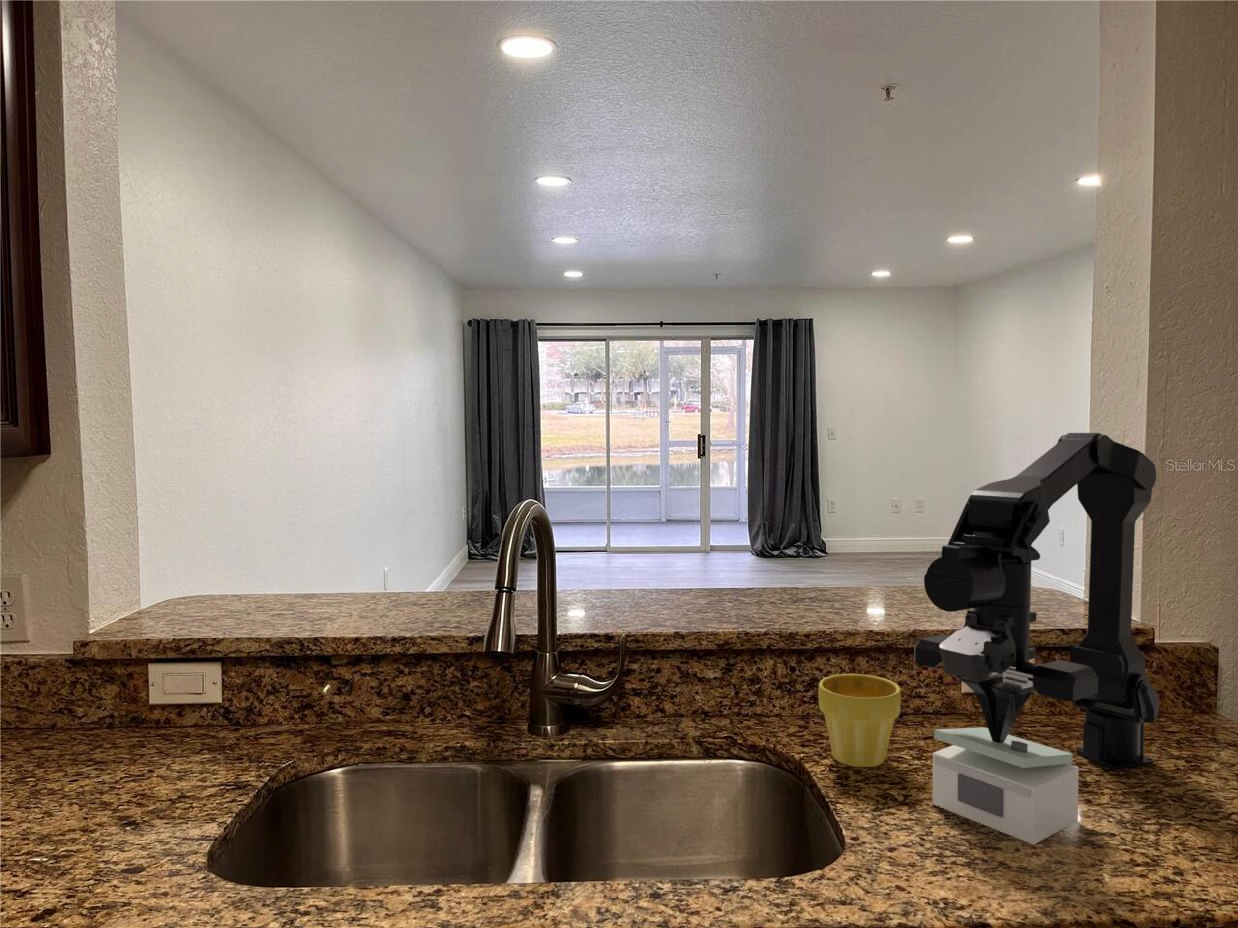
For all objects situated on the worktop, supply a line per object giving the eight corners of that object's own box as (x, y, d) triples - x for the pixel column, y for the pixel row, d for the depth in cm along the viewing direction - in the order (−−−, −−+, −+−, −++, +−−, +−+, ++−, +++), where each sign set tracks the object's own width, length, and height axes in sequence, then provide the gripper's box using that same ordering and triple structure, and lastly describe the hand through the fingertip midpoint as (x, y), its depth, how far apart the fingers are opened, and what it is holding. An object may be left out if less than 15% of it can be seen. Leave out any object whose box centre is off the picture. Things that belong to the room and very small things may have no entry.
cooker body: (977, 784, 105) (978, 735, 105) (1077, 820, 95) (1078, 766, 95) (930, 804, 99) (931, 753, 99) (1032, 845, 90) (1032, 788, 89)
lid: (983, 735, 104) (985, 720, 104) (1072, 763, 95) (1073, 746, 95) (933, 738, 98) (935, 722, 98) (1023, 767, 90) (1025, 750, 90)
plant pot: (905, 776, 107) (905, 699, 107) (819, 771, 109) (819, 695, 109) (896, 746, 118) (896, 674, 117) (817, 741, 120) (817, 671, 119)
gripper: (885, 596, 99) (882, 731, 99) (1045, 625, 84) (1041, 785, 84) (944, 587, 105) (941, 714, 106) (1102, 613, 90) (1098, 762, 90)
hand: (998, 741), depth 96 cm, fingers closed, pressing on lid
